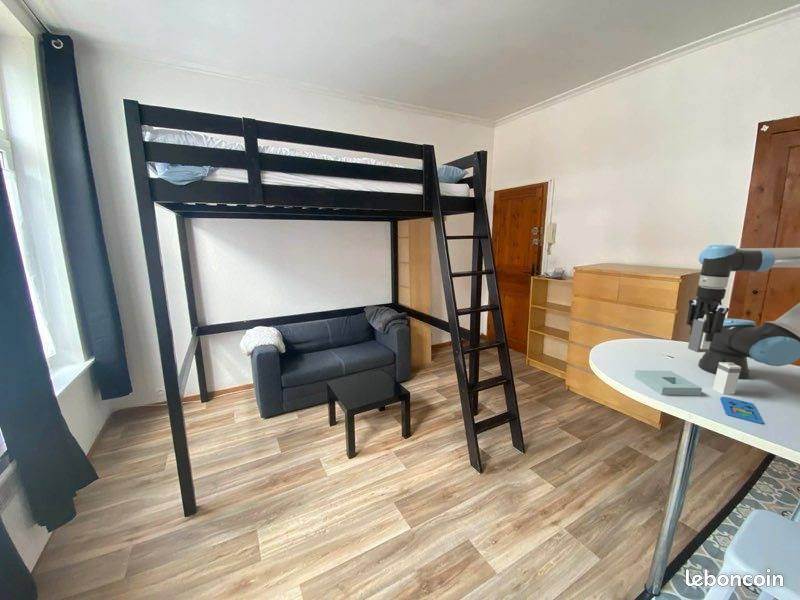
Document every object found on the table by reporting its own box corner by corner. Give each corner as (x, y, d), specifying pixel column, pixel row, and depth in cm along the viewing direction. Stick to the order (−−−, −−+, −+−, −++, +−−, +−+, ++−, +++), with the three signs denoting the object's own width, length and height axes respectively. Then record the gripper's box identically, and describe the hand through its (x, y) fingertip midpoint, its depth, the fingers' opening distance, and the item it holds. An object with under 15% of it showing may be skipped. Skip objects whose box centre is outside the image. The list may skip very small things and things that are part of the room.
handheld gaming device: (753, 402, 107) (764, 423, 95) (752, 405, 107) (763, 426, 96) (719, 394, 112) (726, 413, 100) (718, 397, 112) (726, 416, 101)
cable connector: (723, 388, 117) (730, 360, 114) (734, 394, 113) (742, 365, 110) (712, 388, 117) (719, 360, 115) (722, 394, 113) (730, 365, 111)
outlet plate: (668, 377, 126) (670, 370, 125) (700, 395, 113) (702, 387, 112) (634, 377, 127) (635, 370, 126) (661, 394, 113) (662, 387, 112)
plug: (698, 348, 121) (705, 317, 118) (707, 352, 117) (715, 320, 114) (687, 348, 121) (694, 317, 118) (697, 352, 117) (704, 320, 114)
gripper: (681, 283, 122) (670, 338, 127) (724, 291, 105) (709, 355, 110) (700, 283, 122) (689, 338, 127) (747, 291, 105) (731, 355, 110)
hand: (698, 346), depth 119 cm, fingers closed on plug, 4 cm apart
